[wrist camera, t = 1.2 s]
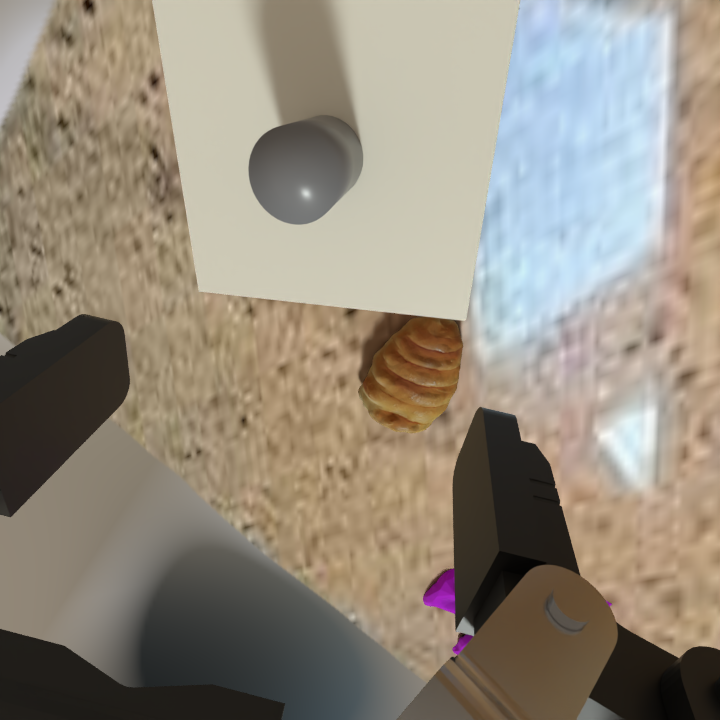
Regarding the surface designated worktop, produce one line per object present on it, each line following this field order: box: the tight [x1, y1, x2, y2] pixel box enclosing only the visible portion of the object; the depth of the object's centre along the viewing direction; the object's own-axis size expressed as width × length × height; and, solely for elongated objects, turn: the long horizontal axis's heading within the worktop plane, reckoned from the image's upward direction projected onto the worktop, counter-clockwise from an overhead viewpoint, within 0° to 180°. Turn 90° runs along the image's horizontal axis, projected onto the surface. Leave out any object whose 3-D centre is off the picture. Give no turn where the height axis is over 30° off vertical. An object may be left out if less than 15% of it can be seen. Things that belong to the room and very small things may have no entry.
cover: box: [152, 0, 520, 321], centre depth 20 cm, size 15×15×6 cm
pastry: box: [358, 316, 463, 433], centre depth 34 cm, size 9×7×4 cm
